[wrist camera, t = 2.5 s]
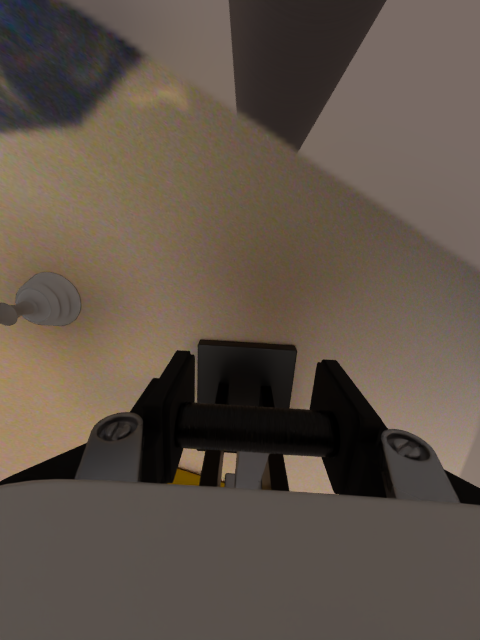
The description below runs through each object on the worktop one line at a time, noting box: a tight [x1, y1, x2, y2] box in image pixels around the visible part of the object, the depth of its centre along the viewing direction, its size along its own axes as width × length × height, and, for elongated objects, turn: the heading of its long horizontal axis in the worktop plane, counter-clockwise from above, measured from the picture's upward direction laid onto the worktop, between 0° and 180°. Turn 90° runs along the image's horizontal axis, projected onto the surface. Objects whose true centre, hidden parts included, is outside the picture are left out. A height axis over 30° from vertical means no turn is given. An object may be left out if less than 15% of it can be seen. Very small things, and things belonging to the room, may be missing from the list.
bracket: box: [197, 340, 297, 491], centre depth 20 cm, size 12×9×13 cm
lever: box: [174, 402, 340, 490], centre depth 12 cm, size 12×5×2 cm, turn 175°
